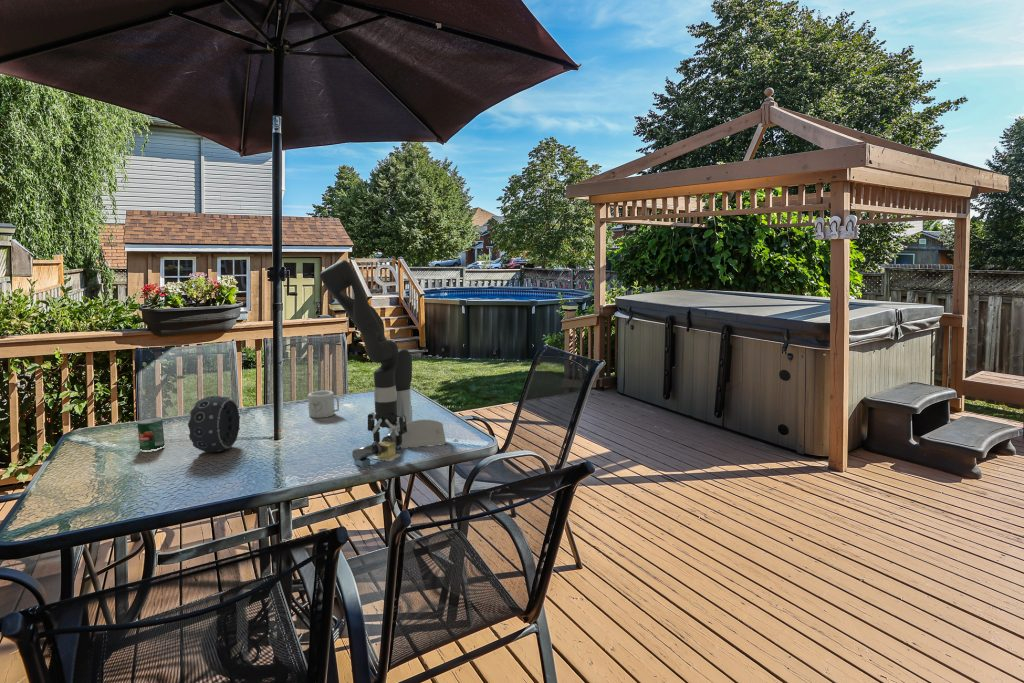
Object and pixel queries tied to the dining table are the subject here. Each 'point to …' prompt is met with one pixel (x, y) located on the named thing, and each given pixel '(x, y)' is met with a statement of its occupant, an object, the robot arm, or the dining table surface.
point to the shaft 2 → (391, 438)
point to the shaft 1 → (366, 454)
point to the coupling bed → (387, 459)
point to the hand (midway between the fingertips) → (388, 444)
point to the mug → (322, 404)
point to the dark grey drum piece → (214, 424)
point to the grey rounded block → (423, 434)
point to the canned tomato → (150, 433)
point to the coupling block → (387, 450)
